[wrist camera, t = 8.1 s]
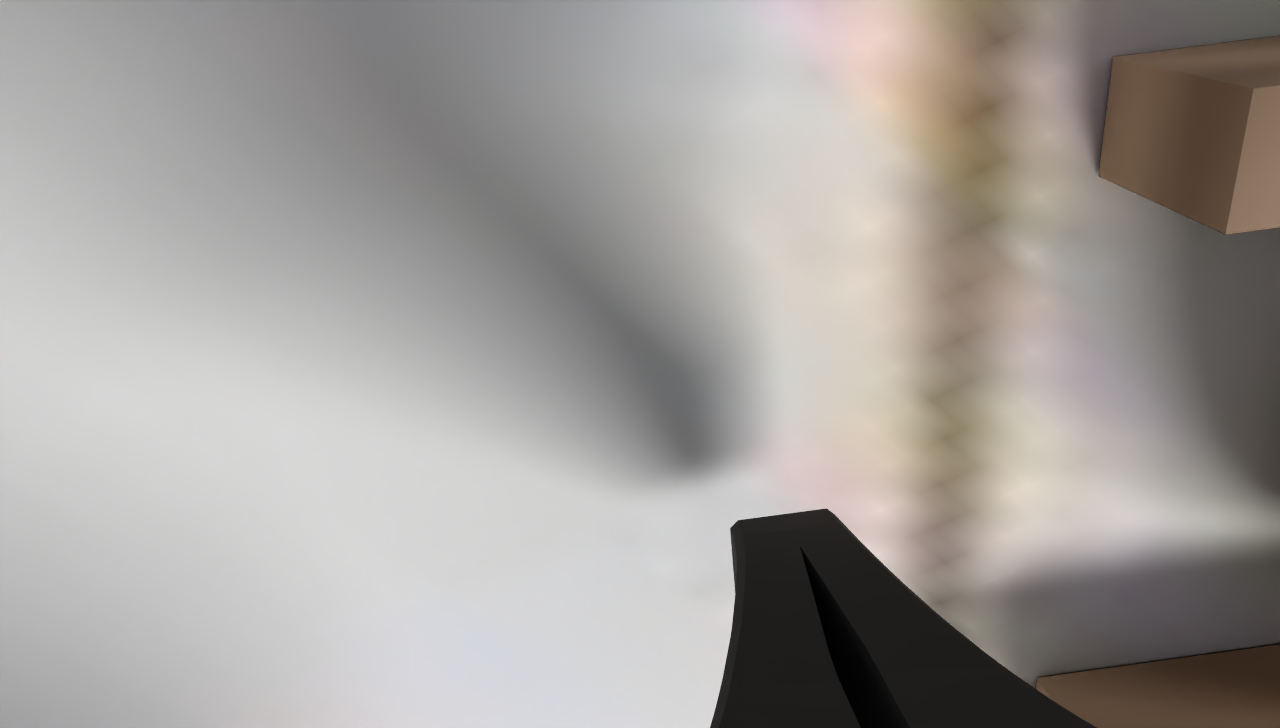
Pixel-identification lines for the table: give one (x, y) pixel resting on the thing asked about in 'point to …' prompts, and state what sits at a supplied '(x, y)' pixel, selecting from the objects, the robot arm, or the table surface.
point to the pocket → (1230, 203)
